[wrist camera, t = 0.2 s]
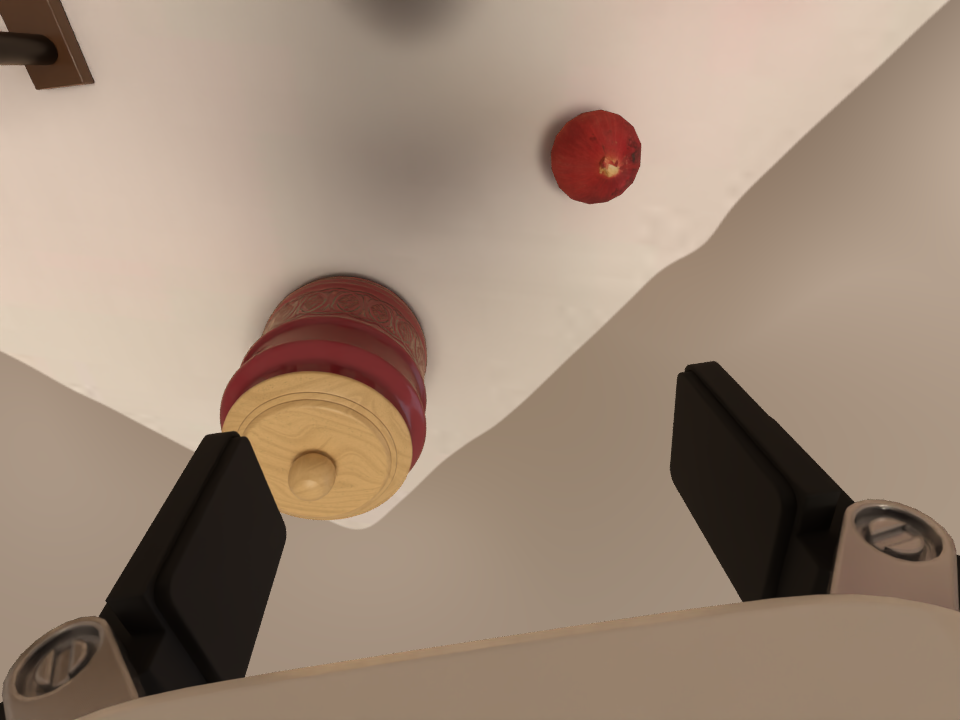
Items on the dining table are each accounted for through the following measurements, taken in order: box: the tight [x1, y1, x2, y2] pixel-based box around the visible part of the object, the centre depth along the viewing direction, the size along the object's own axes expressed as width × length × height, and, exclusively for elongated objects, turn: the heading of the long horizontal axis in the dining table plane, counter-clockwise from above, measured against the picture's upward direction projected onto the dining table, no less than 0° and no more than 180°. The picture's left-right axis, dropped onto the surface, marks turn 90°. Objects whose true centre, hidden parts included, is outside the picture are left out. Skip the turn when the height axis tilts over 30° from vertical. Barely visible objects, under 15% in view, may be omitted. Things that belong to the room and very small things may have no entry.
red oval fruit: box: [551, 110, 641, 204], centre depth 35 cm, size 6×6×8 cm
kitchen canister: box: [220, 276, 427, 520], centre depth 37 cm, size 13×13×18 cm
